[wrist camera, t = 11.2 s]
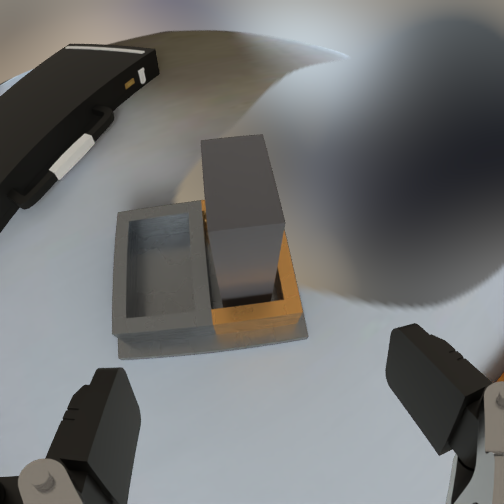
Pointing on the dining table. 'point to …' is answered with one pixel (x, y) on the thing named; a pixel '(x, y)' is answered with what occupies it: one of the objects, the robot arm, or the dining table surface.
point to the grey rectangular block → (242, 218)
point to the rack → (189, 290)
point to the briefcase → (62, 115)
